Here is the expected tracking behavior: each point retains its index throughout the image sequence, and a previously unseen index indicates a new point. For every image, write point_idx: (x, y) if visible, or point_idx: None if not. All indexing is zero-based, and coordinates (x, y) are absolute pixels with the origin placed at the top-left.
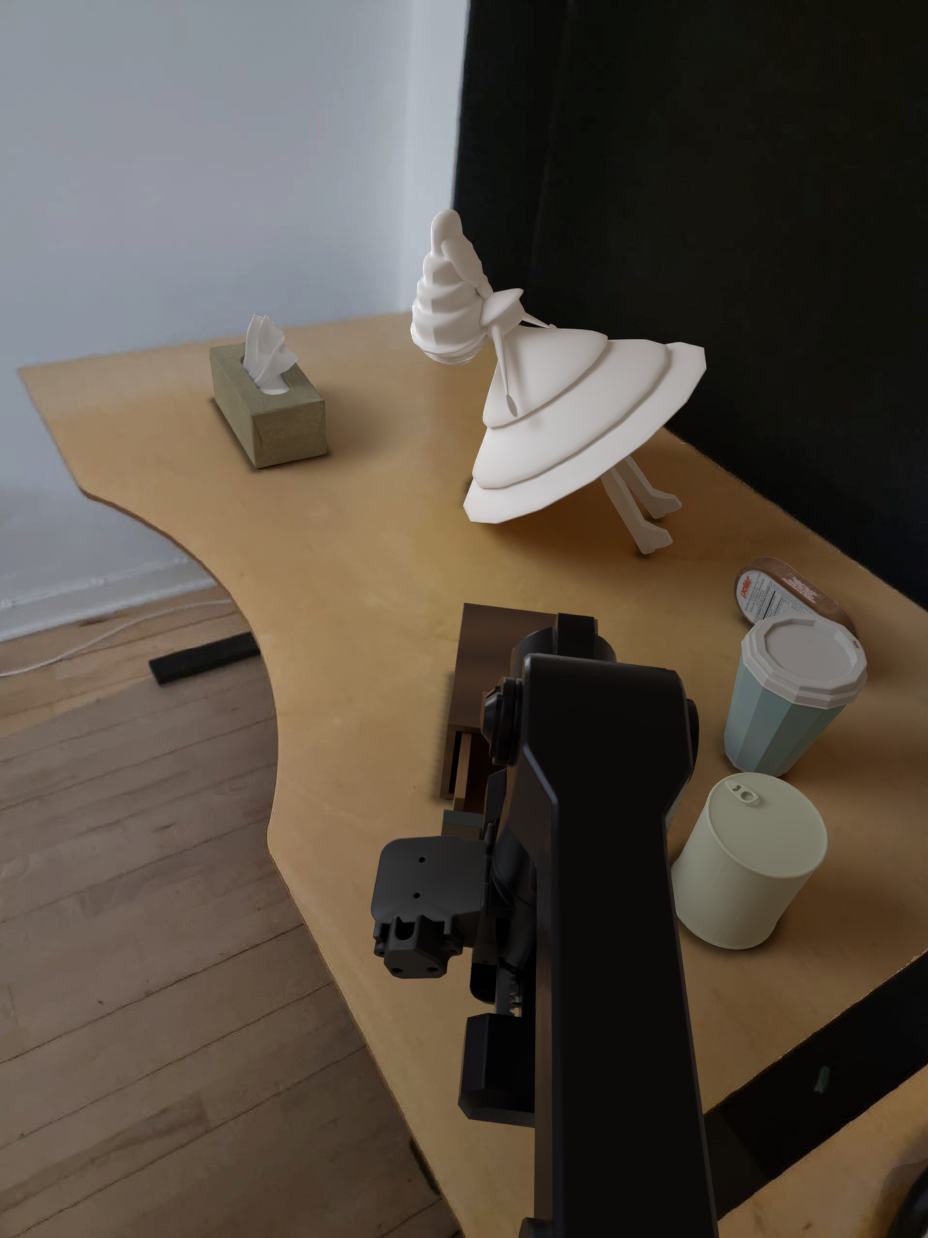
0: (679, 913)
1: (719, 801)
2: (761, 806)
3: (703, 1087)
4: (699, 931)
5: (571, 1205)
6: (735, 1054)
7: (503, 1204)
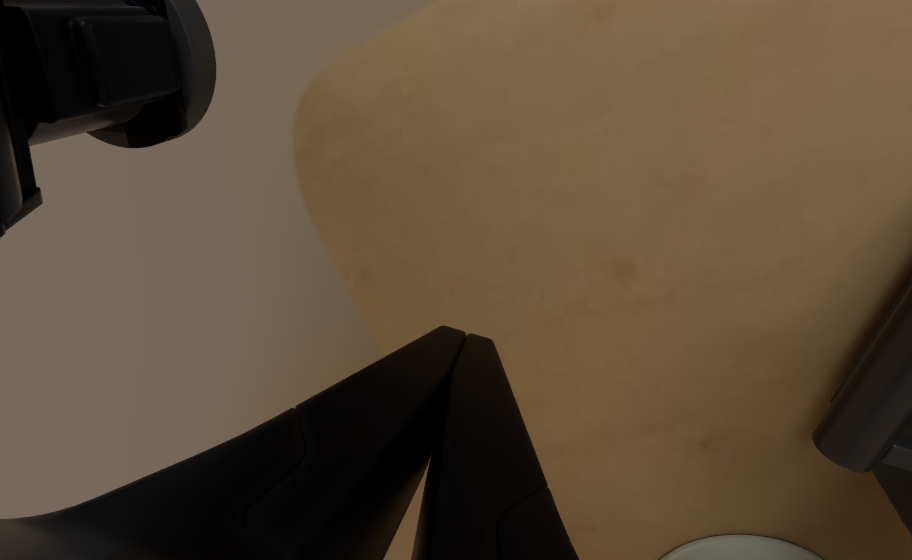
0: (731, 543)
1: None
2: None
3: None
4: (688, 557)
5: None
6: None
7: (320, 144)
